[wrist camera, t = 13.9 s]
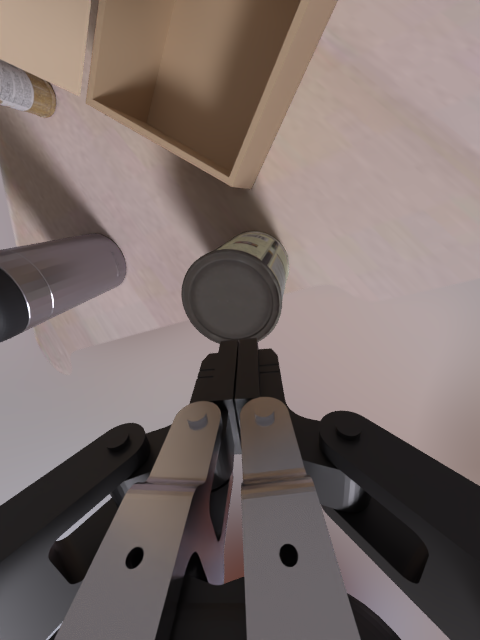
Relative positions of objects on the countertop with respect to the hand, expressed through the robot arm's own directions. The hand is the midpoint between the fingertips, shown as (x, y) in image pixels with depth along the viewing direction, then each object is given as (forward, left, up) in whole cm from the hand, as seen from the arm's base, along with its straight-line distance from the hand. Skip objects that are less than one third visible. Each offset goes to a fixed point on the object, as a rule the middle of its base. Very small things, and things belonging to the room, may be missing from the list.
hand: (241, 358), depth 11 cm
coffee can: (-5, -3, -28) cm, 29 cm away
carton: (-7, +20, -28) cm, 35 cm away
